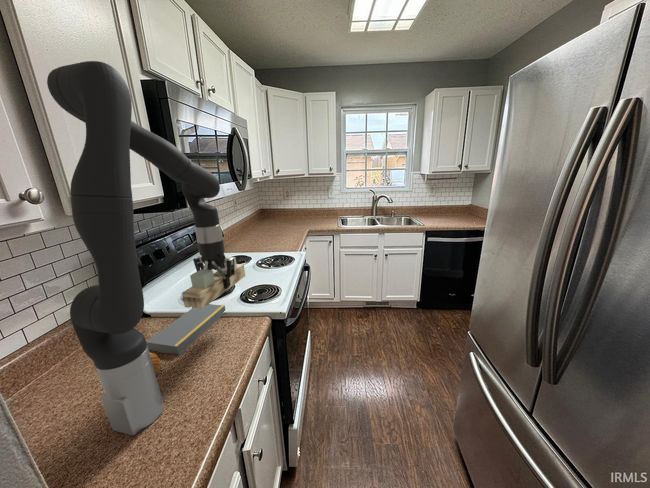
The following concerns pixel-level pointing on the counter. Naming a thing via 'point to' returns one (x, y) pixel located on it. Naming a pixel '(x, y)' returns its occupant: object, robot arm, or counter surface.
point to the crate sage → (202, 279)
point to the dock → (185, 329)
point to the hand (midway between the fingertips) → (218, 287)
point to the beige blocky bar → (210, 290)
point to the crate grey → (234, 262)
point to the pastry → (155, 362)
